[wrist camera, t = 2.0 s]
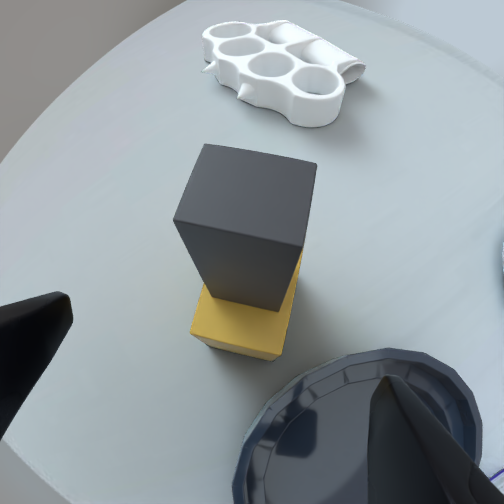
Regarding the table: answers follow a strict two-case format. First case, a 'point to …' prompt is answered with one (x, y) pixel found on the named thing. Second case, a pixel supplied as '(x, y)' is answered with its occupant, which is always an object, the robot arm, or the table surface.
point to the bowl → (341, 427)
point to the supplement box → (498, 480)
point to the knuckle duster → (281, 69)
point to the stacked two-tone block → (245, 245)
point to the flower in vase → (503, 257)
